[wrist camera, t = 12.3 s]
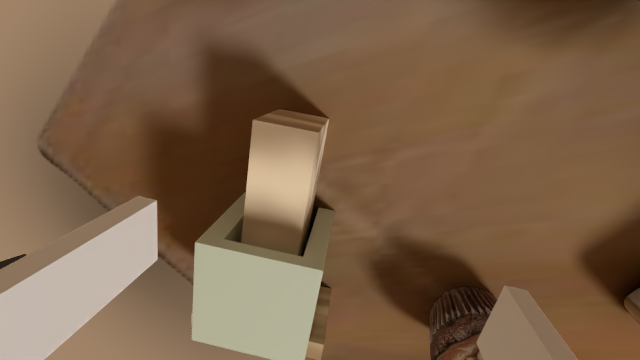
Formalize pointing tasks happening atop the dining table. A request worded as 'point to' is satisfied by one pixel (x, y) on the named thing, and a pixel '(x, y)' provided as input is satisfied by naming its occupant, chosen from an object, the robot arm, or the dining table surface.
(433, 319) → the cupcake
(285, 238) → the light wood rectangular block
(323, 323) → the board
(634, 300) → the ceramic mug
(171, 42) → the dining table surface
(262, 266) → the socket block
